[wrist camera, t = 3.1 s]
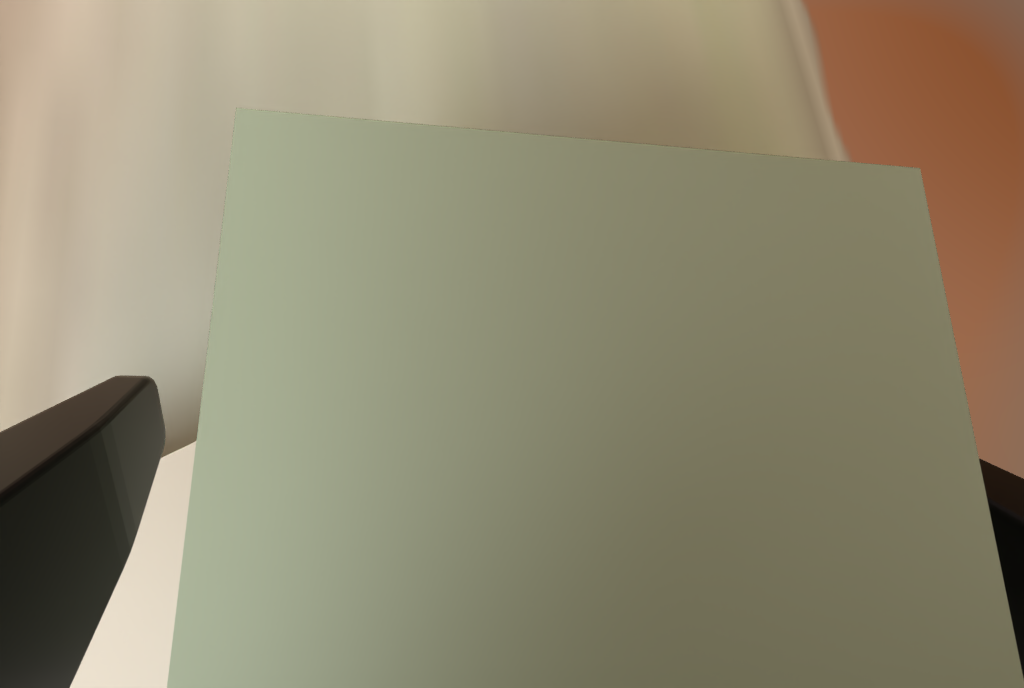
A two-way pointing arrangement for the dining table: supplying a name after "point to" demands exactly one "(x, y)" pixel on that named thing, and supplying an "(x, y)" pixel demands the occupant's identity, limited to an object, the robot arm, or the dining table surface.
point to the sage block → (579, 423)
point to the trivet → (145, 590)
